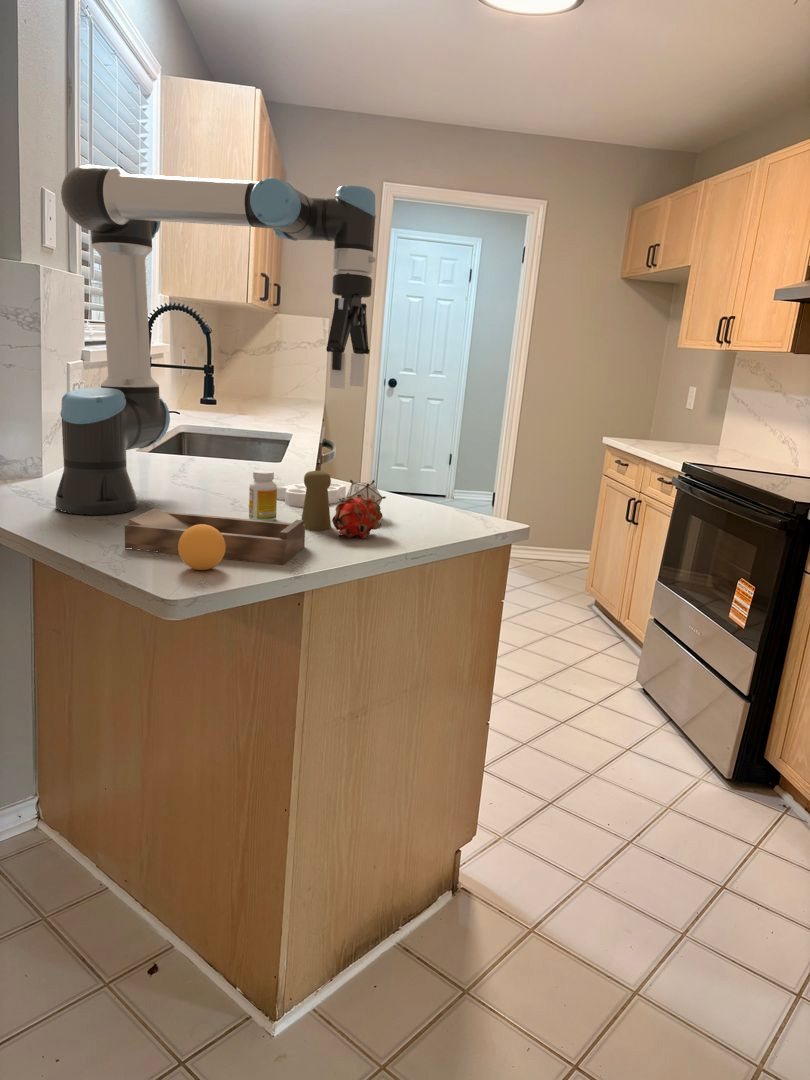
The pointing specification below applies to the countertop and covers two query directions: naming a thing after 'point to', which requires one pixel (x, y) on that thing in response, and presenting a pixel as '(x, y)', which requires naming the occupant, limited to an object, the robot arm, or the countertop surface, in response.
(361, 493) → the geometric wire polyhedron
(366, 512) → the dragon fruit
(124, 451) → the robot arm
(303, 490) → the white scalloped tray
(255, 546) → the wooden tray
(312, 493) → the cork
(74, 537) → the countertop surface
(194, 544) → the rubber ball
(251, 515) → the supplement bottle
